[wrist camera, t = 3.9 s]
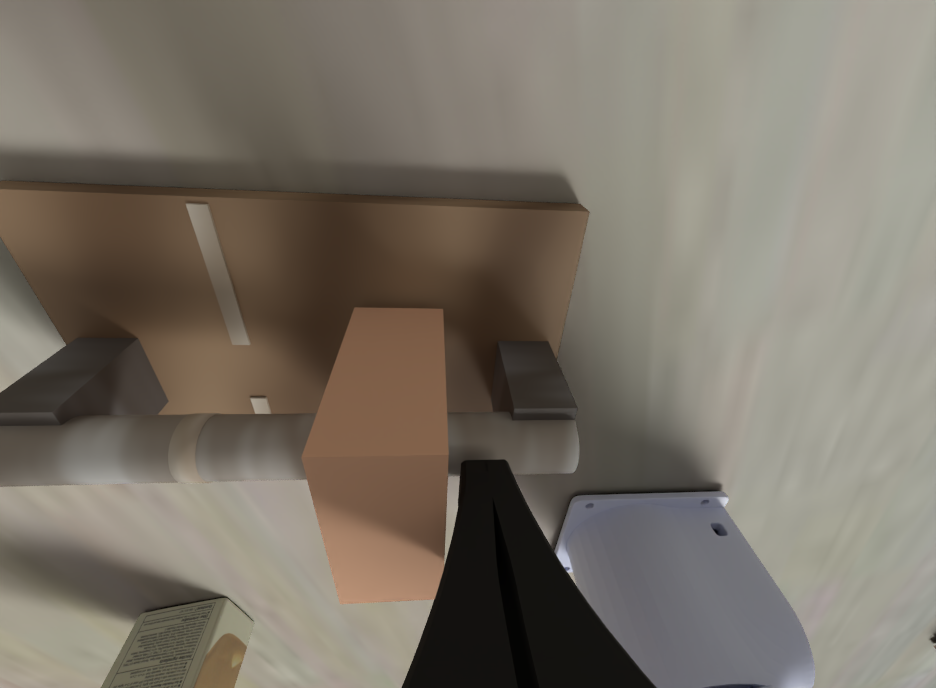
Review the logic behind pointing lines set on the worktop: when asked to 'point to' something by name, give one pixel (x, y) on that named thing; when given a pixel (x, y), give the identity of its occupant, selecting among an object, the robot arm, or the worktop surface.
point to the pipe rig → (273, 325)
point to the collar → (383, 457)
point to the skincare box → (184, 648)
